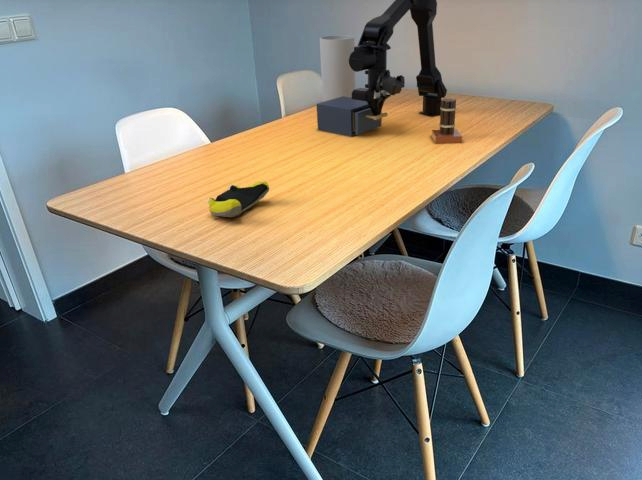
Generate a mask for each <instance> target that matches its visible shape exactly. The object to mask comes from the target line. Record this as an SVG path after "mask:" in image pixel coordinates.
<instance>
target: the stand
mask: <svg viewBox="0 0 642 480" xmlns="http://www.w3.org/2000/svg"><path fill="white" fill-rule="evenodd" d="M439 132H440V129H431V138H432V140H433V142H434V143H435V144H457V143H458V144H459V143H460V144H462V143H463V141H462V139H463V136H462V133H460V131H459V130H458V128H457V129H455V128H454V133H453V134H452V135H449V134H447V135H443V134H440V133H439Z"/></svg>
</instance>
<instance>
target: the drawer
mask: <svg viewBox="0 0 642 480" xmlns="http://www.w3.org/2000/svg"><path fill="white" fill-rule="evenodd" d="M382 110H383V109H382ZM382 110H381V114H380V115H377V116H374V115H373V113H372V111H371V109H370V107H365V108H362V109H359V110H356V111H353V112H352V114H353V132H355V134H357V135H358V136H359V135H362V134H364V133H366V132H369V131H372V130H376V129H377V128H381V127H382V119H383V118H386V117H388V115H389V114H388V112H383V111H382ZM357 135H356V136H357Z"/></svg>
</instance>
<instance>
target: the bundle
mask: <svg viewBox="0 0 642 480" xmlns="http://www.w3.org/2000/svg"><path fill="white" fill-rule="evenodd" d="M440 110H441V114H439V115H440V116H439V124H438V125H439V130H440V132H439V133H440V134H443V135H447V134H449V135H452V134H453V133H454V129H455V126H456V123H455V122H456V110H457V99H456V98H450V97H449V98H442V99H441V107H440Z"/></svg>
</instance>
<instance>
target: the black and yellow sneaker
mask: <svg viewBox="0 0 642 480" xmlns="http://www.w3.org/2000/svg"><path fill="white" fill-rule="evenodd" d="M269 191H270V186H269V183H268V182H267V181H257V182H255V183H253V184H251V185H248V186H246V187H240V186H238V185H236V184H235V185H234V184H231V185H229V186H228V189H227V190H225V191H223V192H222V193H221V194H219V195H217V196H216V197H215V198H213V197H208V198H206V201H207V203H208V205H209V206H208V209H209V212H210V214H211V215H212V216H214V217H221V218H223V217H224V218H234V217H235V218H237V217H239V216H241V215H242V213H243V212H244V211H246V210H248V209H250V208H251V207H252V206H254V205H256V204H257V202H259V201H260V200H262V199H263V198H265V196H266V195H267V194H268V193H269Z"/></svg>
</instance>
